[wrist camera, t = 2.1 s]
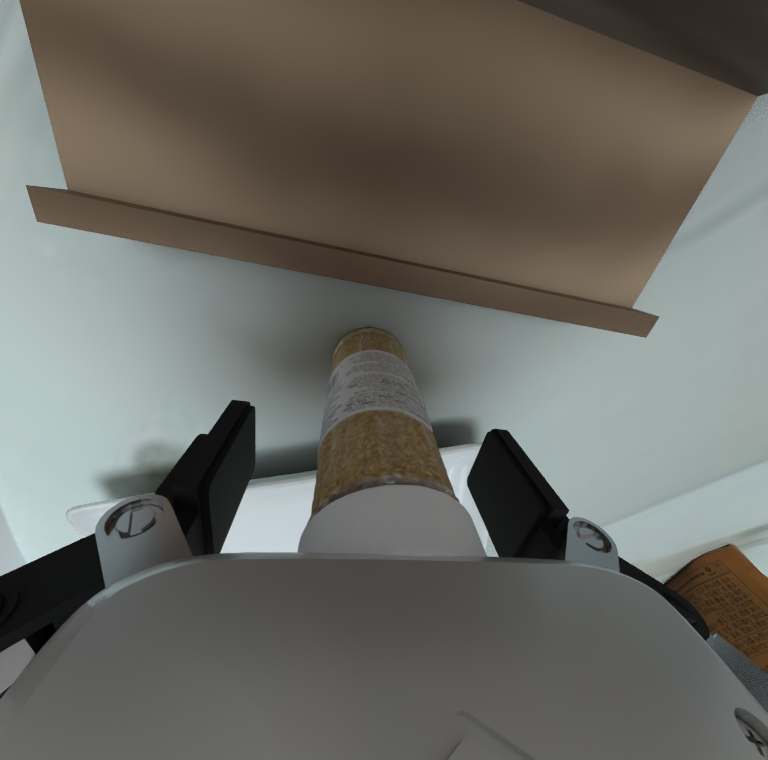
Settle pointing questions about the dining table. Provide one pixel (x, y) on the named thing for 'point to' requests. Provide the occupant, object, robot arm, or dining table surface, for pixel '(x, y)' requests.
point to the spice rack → (402, 136)
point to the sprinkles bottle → (382, 463)
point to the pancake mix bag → (729, 599)
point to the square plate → (291, 507)
